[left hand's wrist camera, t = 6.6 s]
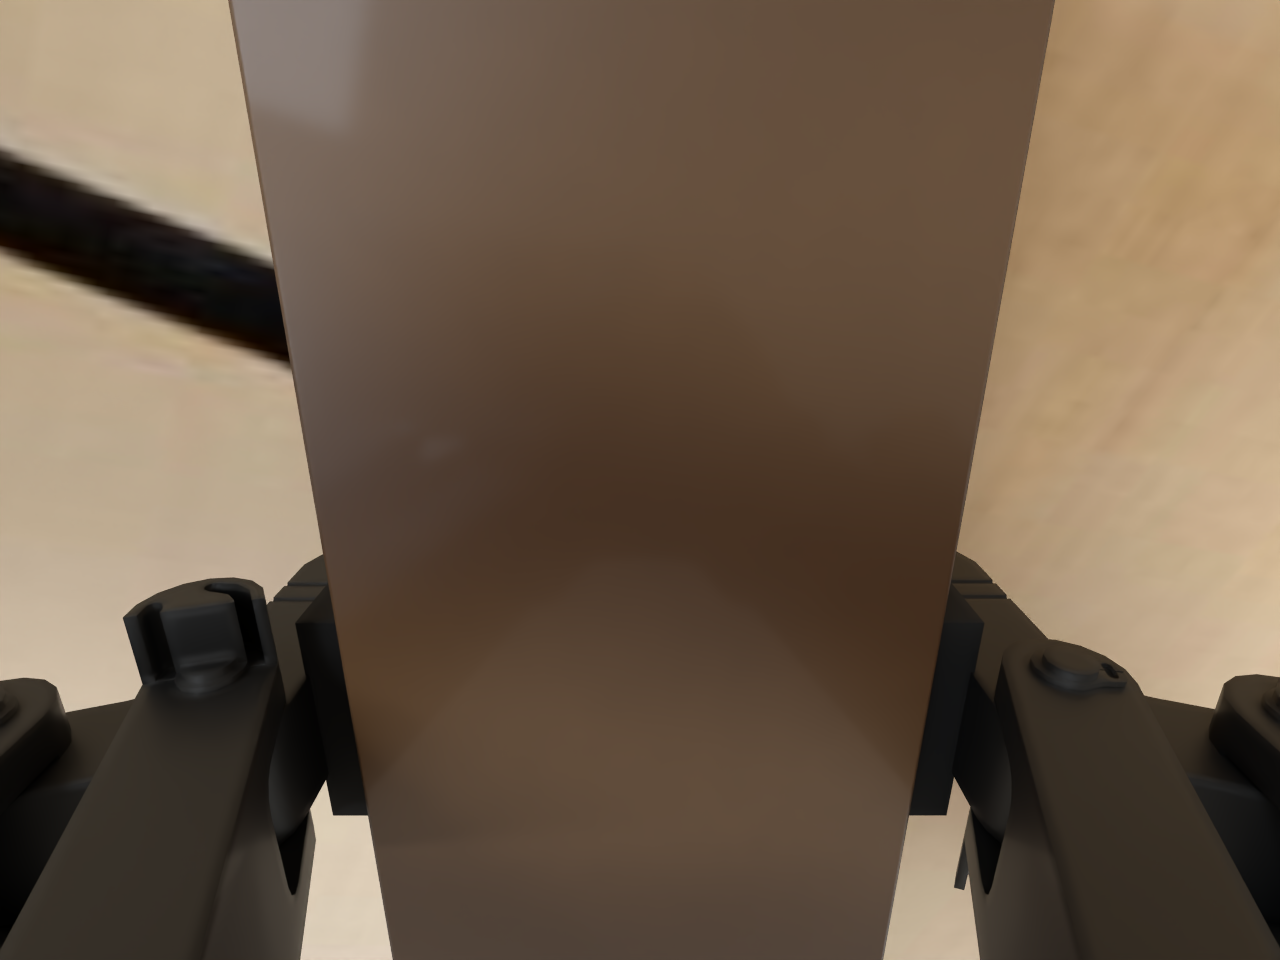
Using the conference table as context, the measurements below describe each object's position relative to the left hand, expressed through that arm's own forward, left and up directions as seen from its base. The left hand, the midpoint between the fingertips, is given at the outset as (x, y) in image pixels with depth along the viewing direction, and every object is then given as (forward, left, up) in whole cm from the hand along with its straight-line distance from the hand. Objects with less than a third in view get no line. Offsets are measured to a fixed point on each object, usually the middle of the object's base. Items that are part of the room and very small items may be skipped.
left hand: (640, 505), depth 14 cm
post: (+11, +18, 0) cm, 21 cm away
